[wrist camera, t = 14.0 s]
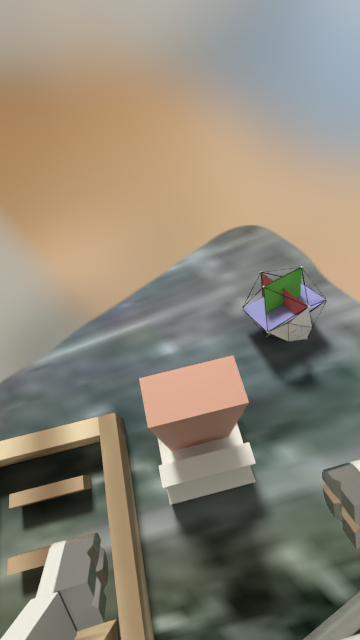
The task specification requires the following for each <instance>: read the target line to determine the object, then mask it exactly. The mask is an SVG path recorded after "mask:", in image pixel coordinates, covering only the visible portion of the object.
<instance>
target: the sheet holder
mask: <svg viewBox="0 0 360 640" xmlns="http://www.w3.org/2000/svg"><path fill="white" fill-rule="evenodd" d="M157 438H158V437H157ZM158 443H159V448H160V454H161V459H162V464H163V465H159V471H160V476H161V482H162V487H163V488H166V487H167V491H168V496H169V502H170V505H171V504H175V503H179V502H183V501H186V500H190V499H194V498H198V497H201V496H205V495H209V494H213V493H216V492H220V491H224V490H228V489H231V488H235V487H239V486H243V485H246V484H250V483H254V482H255V479H254V476H253V473H252V470H251V466H250V465H253V464H256V463H255V460H254V456H253V453H252V450H251V447H250V444H249V442H248V443H244V444H243V441H242V437H241V434H240V431H239V428H238V424H237V423H236V425H235V427H234V429H233V430H232V432H231V434H230V435H229V437H226V438H222V439H218V440H214V441H210V442H206V443H202V444H199V445H195V446H191V447H187V448H183V449H179V450H175V451H171V450H170V449H169V448H168V447H167V446H166V445H165V444H164V443H163V442H162V441H161V440H160V439H159V438H158Z"/></svg>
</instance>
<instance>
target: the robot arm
mask: <svg viewBox="0 0 360 640" xmlns="http://www.w3.org/2000/svg"><path fill="white" fill-rule="evenodd" d="M322 479H323V480H324V482H325V483H326V484H325V486H324V488H323V492H324V498H325V501H326V503H327V506H328V508H329V509H330V511H331V513H332V514H333V516H334V517H335V518H336V519H338V520H340V521H342V523H343V530H344V532H345V533H346V535H347V536H348V538H349V539H350V541H351V542H352V543H353V545H354V546H355V548H360V460H357V461H353V462H350V463H346V464H342V465H339V466H335V467H332V468H328V469H325V470H323V472H322ZM100 543H101V539H100V537H99V534H98V533H93V534H89V535H85V536H81V537H77V538H73V539H69V540H65V541H61V542H57V543H53V544H52V545H51V547H50V549H49V552H48V555H47V559H46V562H45V566H44V569H43V573H42V577H41V580H40V584H39V587H38V591H37V594H36V598H34V599H31V600H30V601H29V603H28V604H27V605H26V607H25V608H24V609H23V611H22V612H21V613H20V614H19V616H18V617H17V618H16V620H15V621H14V622H13V624H12V625H11V626H10V628H9V629H8V630H7V632H6V633H5V634H4V636H3V637H2V638H1V640H74V639H75V637H76V635H77V631H81V630H84V629H87V628H90V627H93V626H96V625H99V624H102V623H104V619H105V608H106V596H105V593H104V591H103V590H104V588H105V586H106V585H107V583H108V561H107V556H106V552H105V550H104V549H103V548H101V547H100ZM341 640H360V634H357V635H354V636H350V637H347V638H344V639H341Z"/></svg>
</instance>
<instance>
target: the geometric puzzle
mask: <svg viewBox="0 0 360 640" xmlns="http://www.w3.org/2000/svg"><path fill="white" fill-rule="evenodd" d="M291 269H293V268H291ZM282 270H284V269H282ZM301 270H302V266H301V267H299V268H298V269H296V270H295V271H293V272H291V273H289V274H287V275H285V276H283V277H282V276H280V277H281V278H279V279H277V280H275V281H273V280H271V279H270V278H269V277H267V276H266V275H264V274H263V273H264V272H262V271H261V272H260V274H261V284H262V288H261V289H262V297H263V298H261V299H259V300H257V301H255V302H253V303H251V304H250V305H248V306H246V307H242V308H241V309H243V310H244V311H245V312H246V314H247V315H248V316H251V317H252V318H253V319H254V320H255V321H256V322H257V323H258V324H259V325H260V326H261V327H262V328H263V329H264V330H266V337H269V336H271V335H275V336H277V337H275V338H281V339H284V340H286V341H288V342H289V341H296V340H303V339H306V340H307V339H308V336H309V334H310V332H311V330H312V328H313V327H312V322H311V317H310V312H311V311H313V310H314V309H315V308H317V307H318V306H320V305H321V304H323V303H324V302H325V301H328V300H327V299H326V298H323V297H322V296H320V295H319V294H317V293H316V292H314V291H313V290H311V289H310V288H308V287H307V286H305V282H304V284H302V283H301ZM274 271H276V270H274ZM265 272H267V271H265ZM304 272H305V271H304ZM305 273H306V272H305ZM266 274H269V273H266ZM270 275H273V274H270ZM259 276H260V275H259ZM275 276H278V275H275ZM302 276H303V271H302ZM308 277H309V276H308ZM258 278H259V277H258ZM303 281H304V277H303ZM311 281H312V280H311ZM312 282H313V281H312ZM254 285H255V284H254ZM315 286H316V285H315ZM253 287H254V286H253ZM252 289H253V288H252ZM261 289H260V290H261ZM260 290H259V291H260ZM318 290H319V289H318ZM251 291H252V290H251ZM259 291H258V292H259ZM319 291H320V290H319ZM258 292H257V293H258ZM250 293H251V292H250ZM249 295H250V294H249ZM322 295H323V294H322ZM248 297H249V296H248ZM247 299H248V298H247ZM246 301H247V300H246ZM325 303H326V302H325ZM319 304H320V305H319ZM317 305H318V306H317ZM324 305H325V304H324ZM315 306H317V307H315ZM313 307H315V308H314V309H313V310H311V311H309V310H310V309H311V308H313ZM323 307H324V306H323ZM322 309H323V308H322ZM321 311H322V310H321ZM252 321H253V320H252ZM253 322H254V321H253ZM254 323H255V322H254ZM255 324H256V323H255ZM313 326H314V325H313ZM259 329H260V328H259ZM260 330H261V329H260ZM261 331H262V330H261ZM262 332H263V331H262Z"/></svg>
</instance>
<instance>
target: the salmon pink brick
mask: <svg viewBox="0 0 360 640" xmlns="http://www.w3.org/2000/svg"><path fill="white" fill-rule="evenodd" d="M139 380H140V386H141V391H142V397H143V403H144V408H145V414H146V420H147V425H148V429H149V430H150V431H151V432H152V433H154V434H155V435H156V436H157V437H158V438H159V439H160V440H161V441H162V442H163V443H164V444H165V445H166V446H167V447H168V448H169V449H170V450H171V451H175V450H179V449H183V448H187V447H191V446H195V445H199V444H202V443H206V442H210V441H214V440H218V439H222V438H226V437H229V435H230V434H231V432H232V430H233V429H234V427H235V425H236V423H237V422H238V420H239V418H240V417H241V415H242V413H243V412H244V410H245V408H246V407H247V405H248V403H249V401H248V398H247V395H246V392H245V389H244V386H243V383H242V380H241V377H240V374H239V371H238V368H237V365H236V362H235V359H234V356H229V357H225V358H221V359H217V360H212V361H208V362H204V363H200V364H196V365H192V366H188V367H184V368H180V369H176V370H172V371H168V372H164V373H159V374H155V375H151V376H147V377H143V378H139Z"/></svg>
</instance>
